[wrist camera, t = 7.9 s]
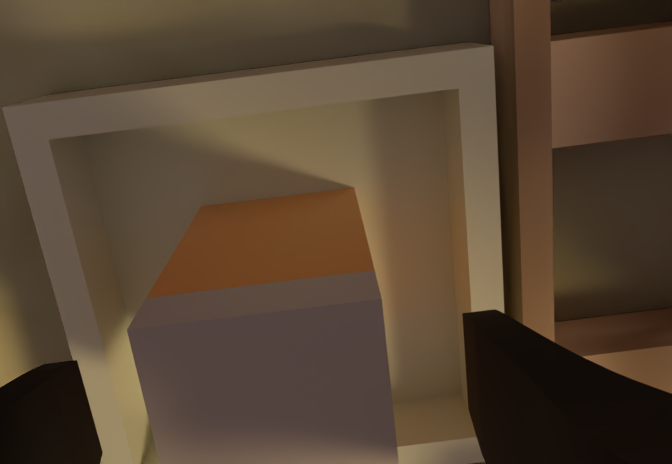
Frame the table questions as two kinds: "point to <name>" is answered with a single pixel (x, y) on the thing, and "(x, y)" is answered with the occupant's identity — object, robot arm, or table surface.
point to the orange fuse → (268, 338)
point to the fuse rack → (569, 130)
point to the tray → (267, 182)
